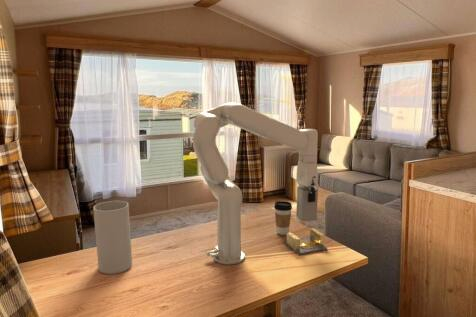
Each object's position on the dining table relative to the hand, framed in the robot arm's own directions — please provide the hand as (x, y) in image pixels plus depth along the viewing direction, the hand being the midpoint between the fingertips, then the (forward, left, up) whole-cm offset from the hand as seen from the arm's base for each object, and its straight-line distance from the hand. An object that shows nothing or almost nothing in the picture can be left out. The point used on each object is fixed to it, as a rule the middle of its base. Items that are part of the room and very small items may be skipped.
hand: (306, 199), depth 153 cm
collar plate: (0, 0, -22) cm, 22 cm away
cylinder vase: (-79, +11, -22) cm, 82 cm away
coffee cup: (-2, +18, -22) cm, 28 cm away
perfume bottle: (0, 0, -9) cm, 9 cm away
